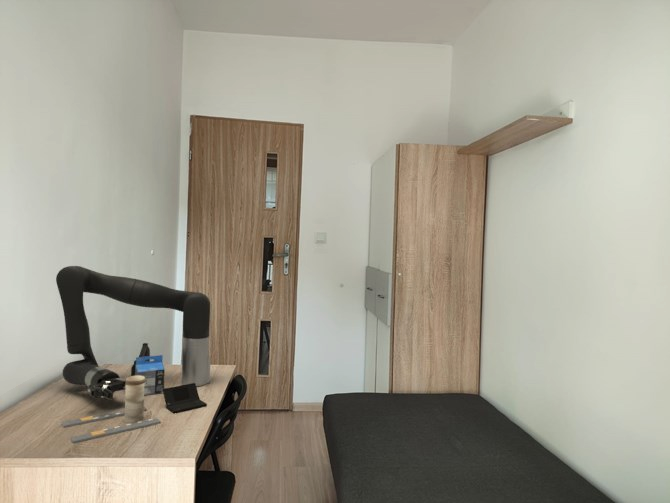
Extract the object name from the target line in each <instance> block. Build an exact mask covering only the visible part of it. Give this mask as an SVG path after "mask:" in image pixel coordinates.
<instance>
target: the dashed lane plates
mask: <svg viewBox="0 0 670 503" xmlns="http://www.w3.org/2000/svg"><path fill="white" fill-rule="evenodd" d="M146 411H147V408H146V407H145V406H144V412H146ZM122 416H125V409H121V410H118V411H112V412H106V413H101V414H95V415H90V416H86V417H80V418H76V419H71V420H68V421H67V420H65V421H62V422H61V425H62V427H63V428H68V427H74V426H78V425H82V424H89V423H93V422H97V421H102V420H107V419H113V418H116V417H122ZM161 423H162V422H161V420H160V419H159V418H158V417H156V418H149V419H146V420H141V421H138V422H132V423H127V424H124V425H121V426H120V425H118V426H114V427H111V428H104V429H101V430H96V431H91V432H88V433H85V434H79V435H75V436H74V435H73V436H71V437H70V440H71V442H72V443H73V444H75V443H80V442H85V441H89V440H93V439H98V438H102V437H106V436H111V435H115V434H119V433H124V432H128V431H133V430H136V429H141V428H145V427H150V426H153V425H154V426H155V425H159V424H161Z"/></svg>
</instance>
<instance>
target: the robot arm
mask: <svg viewBox="0 0 670 503" xmlns="http://www.w3.org/2000/svg"><path fill="white" fill-rule="evenodd" d="M55 283H56V285H57V290H58V293H59V297H60V300H61V306H62V310H63V315H64V317H63V318H64V324H65V325H64V326H65V337H66V350H67V353H68V354H69V355H81V356H82V357H83V359H78V360H74V361H70V362H68V363H66V364H65V365H64V367H63V368H62V376H63V379H64V380H65V382H67V383H68V384H71V385H77V386H85V387H87V394H88V395H89V396H90V397H92V398H93V399H98V398H99V397H100V398H105V399H106V400H113V399H114V393H115V392H116V393H120V392H125V393H126V378H125V379H124V378H121V377H120V375H119V374H118V373H117V372H116V371H115V372H114V371H112V370H110V369H108V368H106V367H101V366H100V365H99V364H98V362H97V359H96V357H95V355H94V352H93V349H92V345H91V335H90V334H91V333H90V332H91V331H90V326H89V321H88V319H87V315H86V312H85V307H84V293H87V294H88V293H89V294H96V295H101V296H104V297H108V298H109V299H112V300H115V301H118V302H120V303H124V304H127V305H132V306H136V307H143V308H152V309H154V308H155V309H171V310H175V311H179V312H182V313H183V315H182V351H181V352H182V354H181V356H182V357H181V377H180V380H181V382H180V383H181V385H186V384H191V383H195V384H196V387H201V386H205V385H207V384H209V383H210V381H211V356H209V352H210V351H209V349H210V347H209V346H210V343H209V342H210V323H211V322H210V319H211V318H210V317H211V302H210V301H211V300H210V298H209V297H208V295H206V294H204V293H203V292H197V291H188V290H187V291H186V290H179V289H176V288H175V289H174V288H170V287H167V286H164V285H161V284H157V283H154V282H150V281H146V280H142V279H137V278H132V277H126V276H118V275H109V274H105V273H101V272H99V271H98V272H97V271H95V270H93V269H92V270H91V269H89V268H86V267H83V266H81V265H69V266H65V267H63V268H61V269H60V270H59V271H58V273H57V274H56V278H55Z"/></svg>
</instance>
